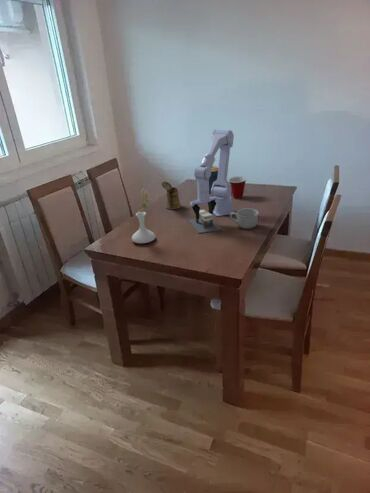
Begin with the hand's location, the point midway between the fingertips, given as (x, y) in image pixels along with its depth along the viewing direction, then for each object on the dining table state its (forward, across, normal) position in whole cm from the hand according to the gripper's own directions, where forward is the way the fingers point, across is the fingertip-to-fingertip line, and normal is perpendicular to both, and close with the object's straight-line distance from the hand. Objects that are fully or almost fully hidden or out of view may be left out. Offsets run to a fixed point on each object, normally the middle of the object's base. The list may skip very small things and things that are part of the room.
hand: (204, 216), depth 186 cm
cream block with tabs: (+4, 0, 0) cm, 4 cm away
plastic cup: (+5, -39, -26) cm, 47 cm away
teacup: (+5, -16, +13) cm, 21 cm away
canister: (+5, -34, -49) cm, 59 cm away
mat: (+5, 0, 0) cm, 5 cm away
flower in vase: (+5, +32, -1) cm, 33 cm away
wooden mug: (+5, +3, -33) cm, 34 cm away
